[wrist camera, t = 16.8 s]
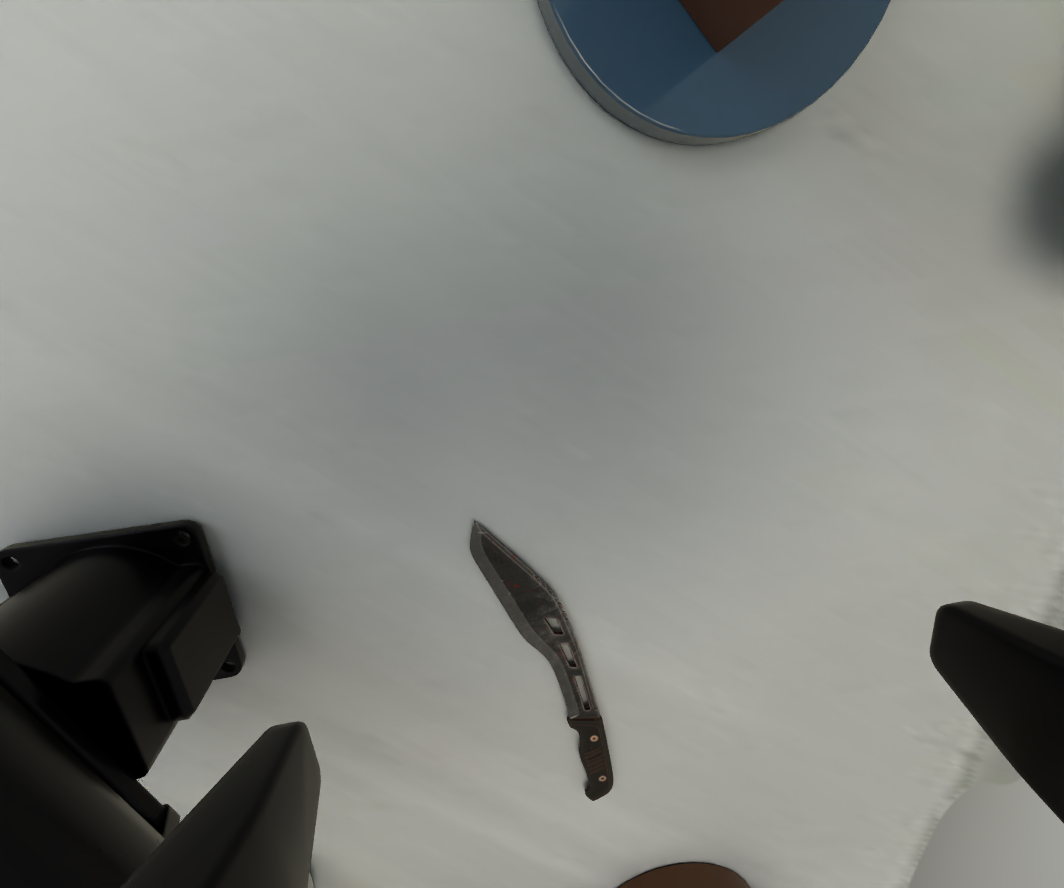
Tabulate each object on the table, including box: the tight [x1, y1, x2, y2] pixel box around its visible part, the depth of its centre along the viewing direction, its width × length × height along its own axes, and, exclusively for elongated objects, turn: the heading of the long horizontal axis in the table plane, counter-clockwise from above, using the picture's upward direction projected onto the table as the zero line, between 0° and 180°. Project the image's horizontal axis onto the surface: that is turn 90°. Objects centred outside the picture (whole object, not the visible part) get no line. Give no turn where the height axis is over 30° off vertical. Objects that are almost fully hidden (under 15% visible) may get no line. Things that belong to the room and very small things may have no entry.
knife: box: [470, 521, 613, 801], centre depth 23 cm, size 16×1×3 cm
